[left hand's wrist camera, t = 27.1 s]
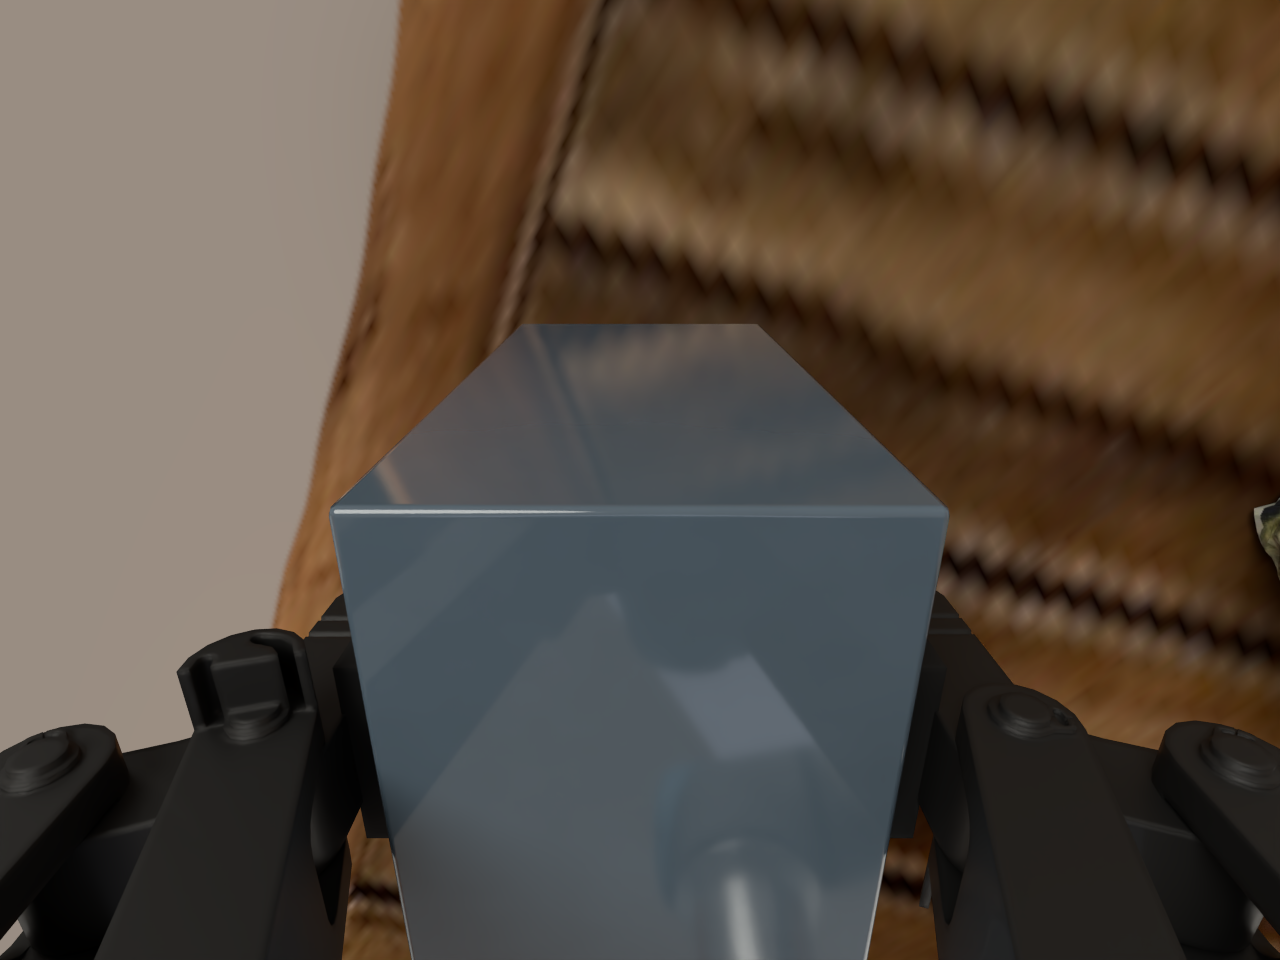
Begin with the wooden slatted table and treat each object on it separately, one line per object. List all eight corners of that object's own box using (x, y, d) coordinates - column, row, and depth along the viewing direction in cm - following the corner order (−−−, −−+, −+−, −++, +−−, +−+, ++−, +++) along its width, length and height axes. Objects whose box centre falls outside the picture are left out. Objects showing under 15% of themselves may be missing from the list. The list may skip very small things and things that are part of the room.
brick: (759, 323, 16) (955, 508, 6) (741, 605, 19) (854, 1045, 9) (520, 323, 16) (323, 507, 6) (538, 605, 19) (424, 1045, 9)
